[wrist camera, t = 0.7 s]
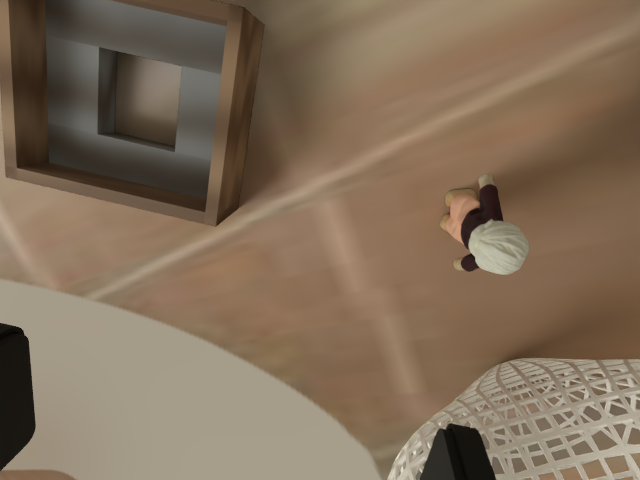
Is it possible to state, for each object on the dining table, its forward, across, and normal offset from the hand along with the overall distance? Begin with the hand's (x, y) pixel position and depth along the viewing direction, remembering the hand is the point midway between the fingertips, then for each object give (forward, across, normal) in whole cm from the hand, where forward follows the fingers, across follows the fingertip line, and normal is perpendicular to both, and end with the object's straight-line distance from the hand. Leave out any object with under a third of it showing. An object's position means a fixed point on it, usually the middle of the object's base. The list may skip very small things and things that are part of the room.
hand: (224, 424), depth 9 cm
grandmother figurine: (+29, -12, 0) cm, 31 cm away
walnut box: (+29, +17, -4) cm, 34 cm away
